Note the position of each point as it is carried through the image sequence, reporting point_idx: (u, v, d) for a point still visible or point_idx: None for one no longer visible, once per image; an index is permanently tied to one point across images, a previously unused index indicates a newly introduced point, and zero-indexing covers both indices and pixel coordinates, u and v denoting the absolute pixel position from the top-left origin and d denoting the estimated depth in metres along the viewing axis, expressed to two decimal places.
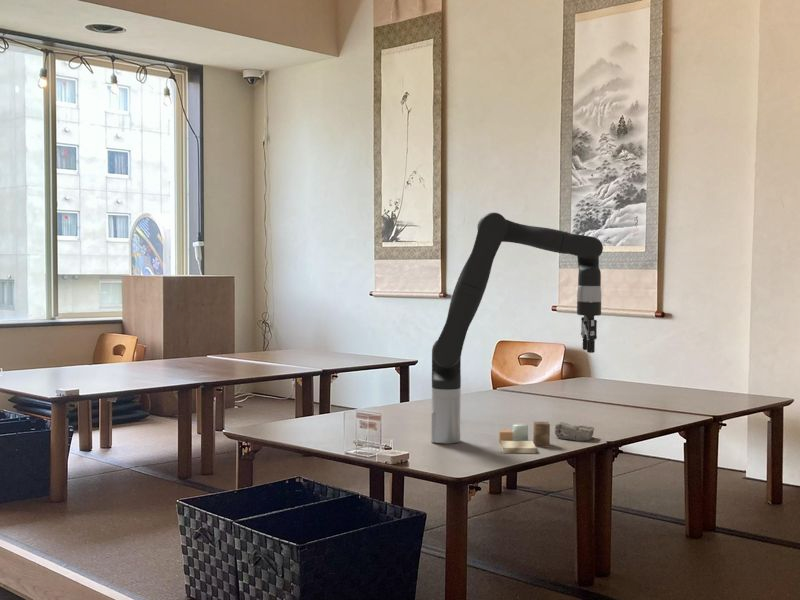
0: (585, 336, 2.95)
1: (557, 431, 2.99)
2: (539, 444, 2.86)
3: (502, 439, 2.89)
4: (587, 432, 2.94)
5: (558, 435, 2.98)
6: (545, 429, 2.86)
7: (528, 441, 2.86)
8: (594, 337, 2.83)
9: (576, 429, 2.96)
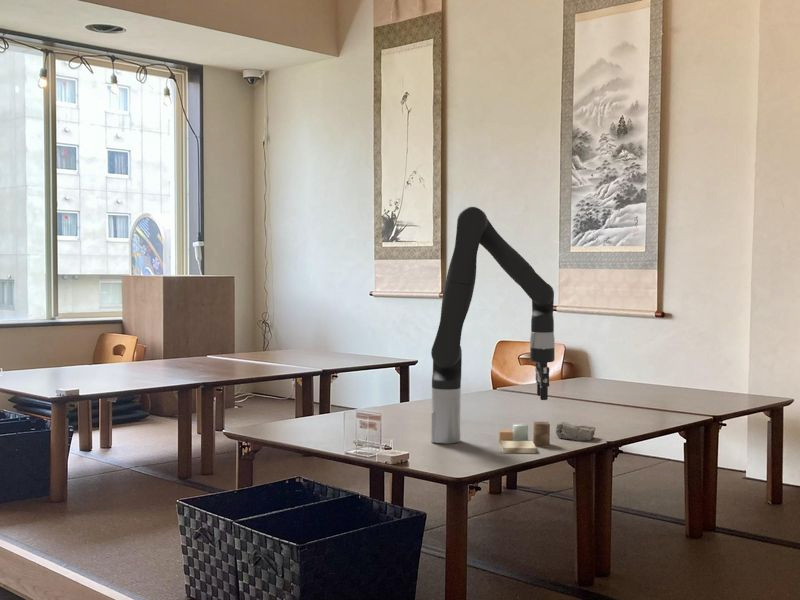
0: (539, 382, 2.92)
1: (558, 431, 3.00)
2: (539, 444, 2.86)
3: (502, 439, 2.89)
4: (588, 432, 2.95)
5: (559, 435, 2.98)
6: (545, 429, 2.86)
7: (528, 441, 2.86)
8: (547, 385, 2.80)
9: (577, 429, 2.96)
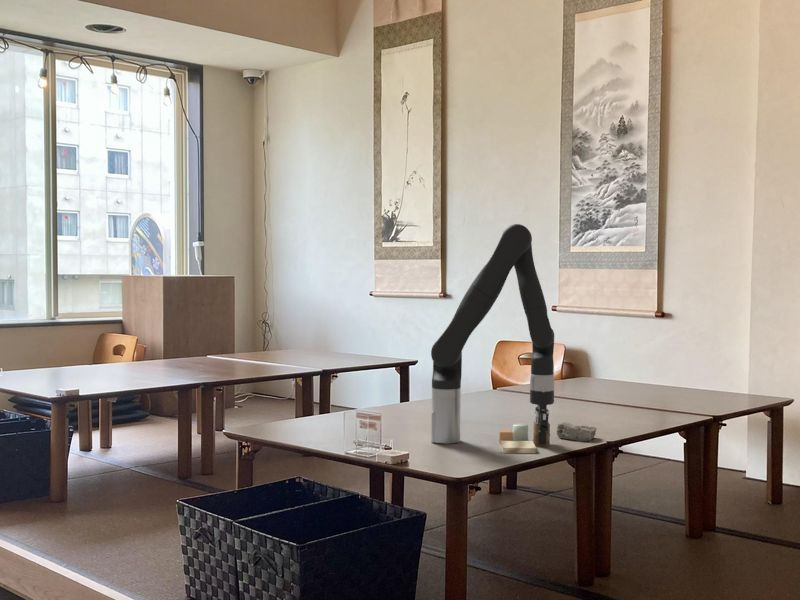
0: None
1: (558, 431, 2.99)
2: (539, 444, 2.86)
3: (502, 439, 2.89)
4: (588, 432, 2.94)
5: (560, 435, 2.98)
6: None
7: (528, 441, 2.86)
8: (545, 429, 2.83)
9: (578, 429, 2.95)
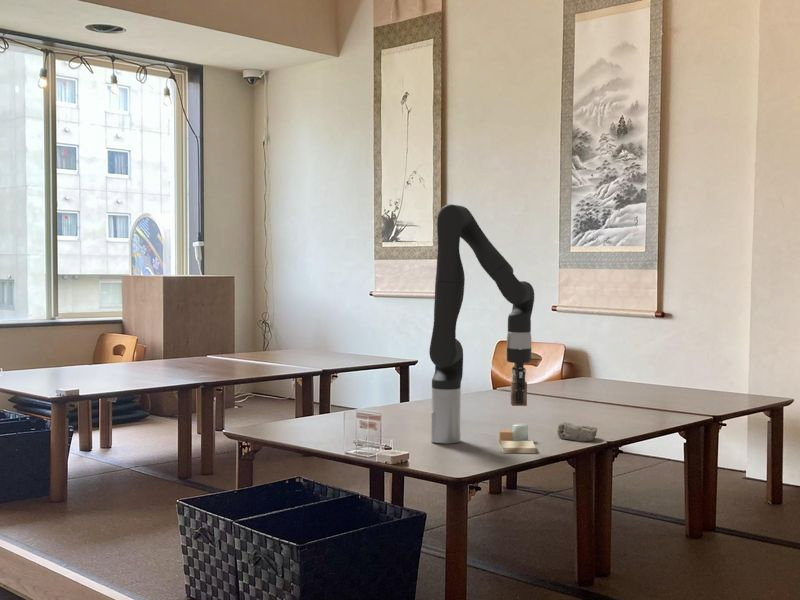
0: None
1: (559, 431, 2.99)
2: (516, 403, 2.79)
3: (502, 439, 2.89)
4: (589, 433, 2.94)
5: (560, 435, 2.98)
6: None
7: (528, 441, 2.86)
8: (522, 388, 2.75)
9: (578, 429, 2.95)
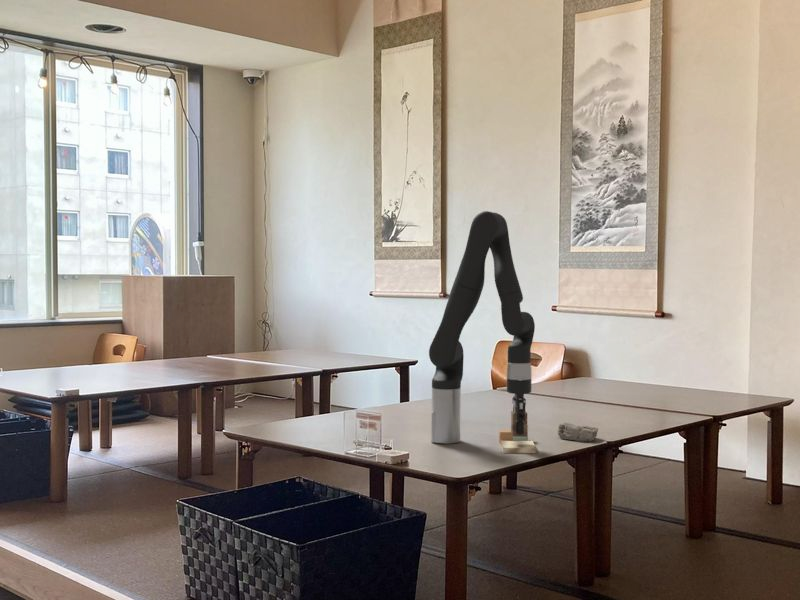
0: None
1: (560, 431, 2.99)
2: (516, 434, 2.79)
3: (502, 439, 2.89)
4: (589, 433, 2.93)
5: (561, 435, 2.98)
6: None
7: (528, 441, 2.86)
8: (522, 419, 2.76)
9: (579, 430, 2.95)
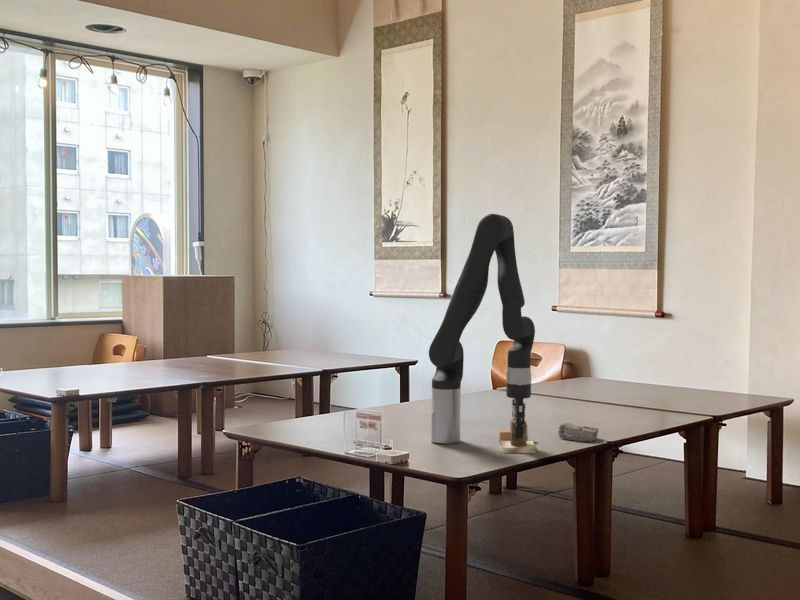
0: None
1: (560, 431, 2.98)
2: (515, 443, 2.79)
3: (502, 439, 2.89)
4: (590, 433, 2.93)
5: (561, 436, 2.97)
6: None
7: (528, 441, 2.86)
8: (522, 423, 2.75)
9: (579, 430, 2.94)
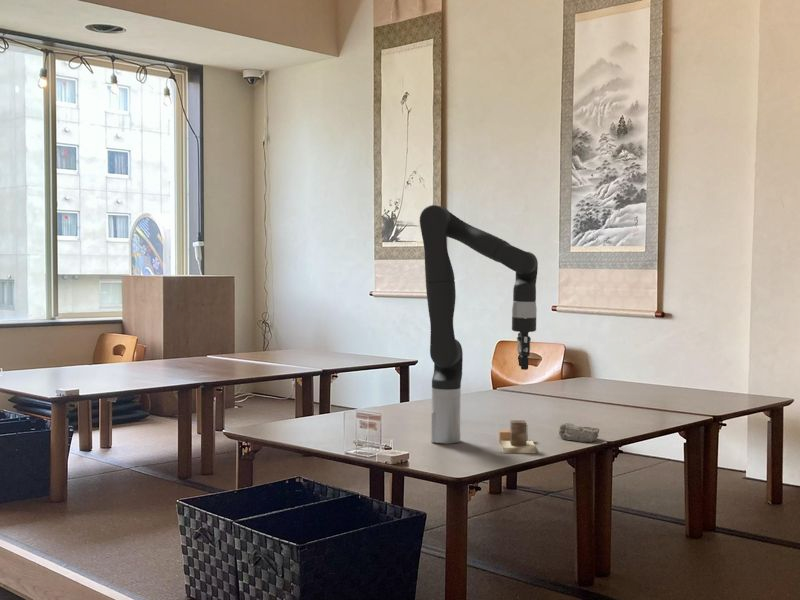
0: None
1: (561, 431, 2.98)
2: (515, 443, 2.79)
3: (502, 439, 2.89)
4: (590, 433, 2.92)
5: (562, 436, 2.97)
6: (522, 428, 2.79)
7: (528, 441, 2.86)
8: (527, 354, 2.78)
9: (579, 430, 2.94)
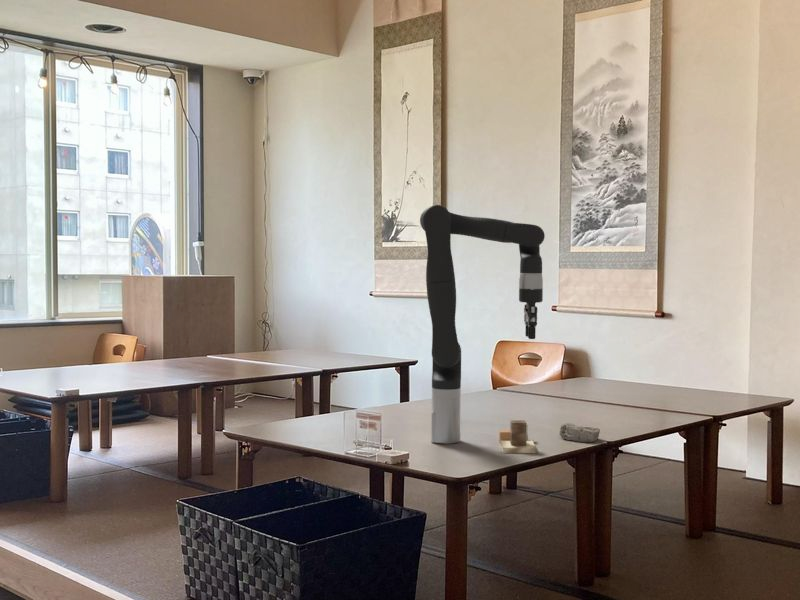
0: (528, 323, 2.99)
1: (561, 432, 2.98)
2: (515, 443, 2.79)
3: (502, 439, 2.89)
4: (591, 433, 2.92)
5: (562, 436, 2.97)
6: (522, 428, 2.79)
7: (528, 441, 2.86)
8: (534, 323, 2.88)
9: (580, 430, 2.94)
